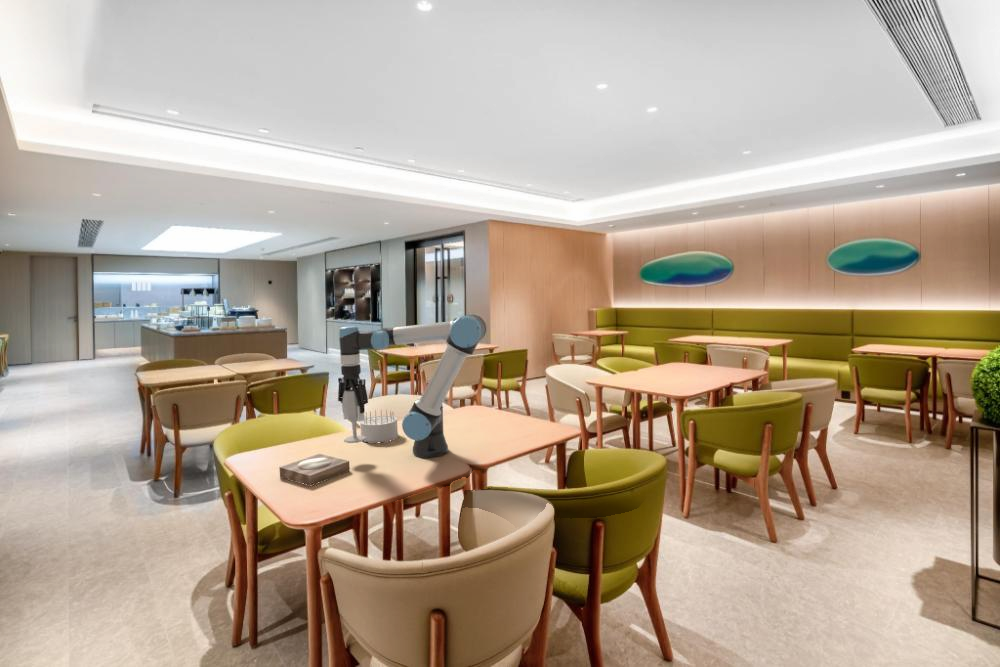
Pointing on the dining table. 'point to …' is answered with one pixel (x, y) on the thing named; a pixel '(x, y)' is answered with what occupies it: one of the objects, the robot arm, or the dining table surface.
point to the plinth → (314, 469)
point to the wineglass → (351, 414)
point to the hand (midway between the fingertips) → (354, 419)
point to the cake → (379, 428)
